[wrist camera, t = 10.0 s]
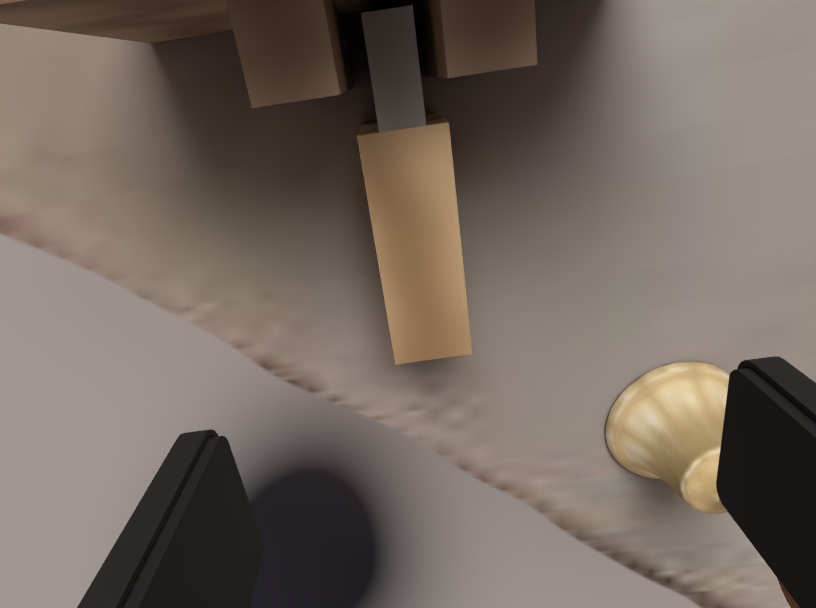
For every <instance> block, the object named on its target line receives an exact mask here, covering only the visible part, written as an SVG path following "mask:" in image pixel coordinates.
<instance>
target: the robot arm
mask: <svg viewBox="0 0 816 608" xmlns="http://www.w3.org/2000/svg"><path fill="white" fill-rule="evenodd" d="M716 488H717V493H718V496H719V499H720V501H721V503H722V504H723V506H724V507H725V508H726V510H727V511H728V512H729V514H730V515H731V516H732V518H733V519H734V520H735V522H736V523H737V524H738V526H739V527H740V528H741V530H742V531H743V532H744V534H745V535H746V536H747V538H748V539H749V540H750V542H751V543H752V544H753V546H754V547H755V548H756V550H757V551H758V552H759V554H760V555H761V556H762V558H763V559H764V560H765V562H766V563H767V564H768V566H769V567H770V568H771V570H772V571H773V572H774V574H775V575H776V576H777V578H778V579H779V580H780V582H781V583H782V584H783V586H784V587H785V588H786V590H787V591H788V592H789V594H790V595H791V597H792V598H793V599H794V601H795V602H796V603H797V605H798V606H799V607H800V608H816V383H815V382H813V381H812V380H811V379H809V378H808V377H807V376H805V375H804V374H803V373H801V372H800V371H799V370H797V369H796V368H795V367H793V366H792V365H791V364H789V363H788V362H787V361H785V360H784V359H782V358H780V357H767V358H759V359H751V360H744V361H742V362H741V363H740V364H739V366H738V369H737V370H733V371H732V372H731V373H730V376H729V383H728V391H727V399H726V407H725V415H724V423H723V431H722V440H721V448H720V456H719V464H718V472H717V480H716ZM262 556H263V544H262V538H261V535H260V532H259V529H258V526H257V524H256V521H255V518H254V515H253V512H252V509H251V506H250V504H249V500H248V498H247V495H246V492H245V489H244V486H243V483H242V480H241V477H240V474H239V472H238V469H237V466H236V463H235V460H234V457H233V454H232V452H231V448H230V445H229V442H228V440H227V438H226V437H225V436H218V434H217V433H216V432H215V431H214V430H204V431H196V432H189V433H183V434H180V436H179V437H178V438H177V440H176V442H175V443H174V445H173V446H172V448H171V450H170V452H169V453H168V455H167V457H166V459H165V460H164V462H163V464H162V465H161V467H160V468H159V470H158V472H157V474H156V475H155V477H154V479H153V480H152V482H151V484H150V486H149V487H148V489H147V490H146V492H145V494H144V496H143V497H142V499H141V501H140V502H139V504H138V506H137V507H136V509H135V511H134V513H133V514H132V516H131V518H130V519H129V521H128V523H127V524H126V526H125V528H124V530H123V531H122V533H121V534H120V536H119V538H118V540H117V541H116V543H115V545H114V546H113V548H112V550H111V551H110V553H109V555H108V557H107V558H106V560H105V562H104V563H103V565H102V567H101V568H100V570H99V572H98V573H97V575H96V577H95V579H94V580H93V582H92V583H91V585H90V587H89V589H88V590H87V592H86V594H85V595H84V597H83V599H82V600H81V602H80V604H79V605H78V607H77V608H249V605H250V601H251V598H252V594H253V590H254V587H255V583H256V579H257V576H258V572H259V568H260V564H261V561H262Z"/></svg>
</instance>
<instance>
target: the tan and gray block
mask: <svg viewBox="0 0 816 608" xmlns="http://www.w3.org/2000/svg"><path fill="white" fill-rule="evenodd" d="M361 17H362V24H363V30H364V37H365V43H366V50H367V57H368V63H369V70H370V76H371V83H372V89H373V96H374V103H375V109H376V116H377V122H374V123H367V124H361V127H360V129H359V132H358V134H357V140H358V146H359V152H360V158H361V164H362V170H363V176H364V182H365V188H366V194H367V200H368V206H369V211H370V217H371V223H372V229H373V235H374V241H375V247H376V253H377V259H378V265H379V271H380V277H381V283H382V288H383V294H384V300H385V306H386V312H387V318H388V324H389V330H390V336H391V342H392V348H393V354H394V359H395V365H397V364H404V363H411V362H418V361H426V360H433V359H440V358H447V357H454V356H461V355H468V354H472V346H471V336H470V326H469V316H468V306H467V297H466V287H465V277H464V267H463V257H462V247H461V237H460V227H459V217H458V207H457V197H456V187H455V178H454V168H453V158H452V148H451V138H450V128H449V122H448V121H447V120H445V119H444V118H442V117H441V116H440V115H438V114H437V113H434V114H427V115H425V109H424V100H423V92H422V83H421V74H420V66H419V57H418V49H417V40H416V32H415V23H414V15H413V6H412V5H410V6H403V7H397V8H390V9H383V10H377V11H370V12H364V13H361Z"/></svg>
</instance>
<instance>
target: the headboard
mask: <svg viewBox="0 0 816 608" xmlns="http://www.w3.org/2000/svg"><path fill="white" fill-rule="evenodd" d="M418 1H419V2H420V11H421V20H422V28H423V37H424V46H425V54H426V63H427V72H428V77H436V78H453V77H460V76H466V75H473V74H479V73H486V72H492V71H499V70H505V69H512V68H518V67H525V66H532V65H537V43H536V17H535V0H0V23H1V24H9V25H16V26H24V27H32V28H39V29H47V30H54V31H62V32H69V33H77V34H85V35H92V36H100V37H107V38H115V39H122V40H130V41H138V42H145V43H155V42H161V41H168V40H174V39H180V38H187V37H193V36H200V35H206V34H213V33H219V32H225V31H232V30H233V33H234V37H235V41H236V45H237V49H238V53H239V57H240V61H241V65H242V70H243V74H244V78H245V82H246V86H247V90H248V94H249V98H250V102H251V107H252V108H257V107H264V106H271V105H277V104H284V103H290V102H297V101H303V100H310V99H316V98H323V97H329V96H336V95H341V94H343V93H345V92H347V91H349V90H351V89H353V83H352V77H351V71H350V65H349V59H348V54H347V48H346V42H345V36H344V30H343V24H342V18H341V13H347V12H354V11H360V10H367V9H373V8H379V7H386V6H392V5H399V4H405V3H411V2H418Z"/></svg>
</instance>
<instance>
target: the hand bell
mask: <svg viewBox="0 0 816 608" xmlns="http://www.w3.org/2000/svg"><path fill="white" fill-rule="evenodd" d="M729 376H730V375H729V374H728V373H726V372H725V371H724V370H722V369H720V368H718V367H716V366H713V365H711V364H708V363H703V362H677V363H672V364H667V365H665V366H661V367H658V368H656V369H653V370H651V371H650V372H648V373H646V374H644V375H642V376H641V377H640V378H639V379H637V380H636V381H635V382H633V383H632V384H631V385H629V386H628V387H627V388H626V389H625V390H624V391H623V392H622V394H621V395H620V396H619V398H618V399H617V400H616V402H615V403H614V405H613V406H612V408H611V411H610V413H609V416H608V420H607V425H606V441H607V445H608V448H609V450H610V452H611V454H612V455H613V457H614V458H615V459H616V461H617V462H618V463H619V464H620V465H621V466H623V467H624V468H626V469H627V470H629V471H631V472H633V473H636V474H638V475H641V476H644V477H648V478H653V479H662V480H663V481H665V482H666V483H667V484H668V485H670V486H671V487H672V488H673V489H674V490H675V491H676V492H677V493H678V494H679V495H680V496H681V497H682V498H683V500H684V501H685V502H686V503H687V504H688V505H689V506H691V507H692V508H694V509H696V510H698V511H701V512H705V513H714V514H718V513H725V512H728V511H727V510H726V508H725V507H724V506H723V504H722V503H721V501H720V499H719V496H718V493H717V488H716V480H717V472H718V464H719V456H720V448H721V440H722V431H723V423H724V415H725V407H726V399H727V391H728V383H729ZM733 520H734V519H733ZM734 521H735V520H734ZM777 579H778V578H777ZM778 581H779V584H780V587H781V589H782V591H783V593H784V596H785V598H786V600H787V602H788V603H789V605H790V607H791V608H800V607H799V606H798V605H797V603H796V602H795V601H794V599H793V598H792V597H791V595H790V594H789V592H788V591H787V590H786V588H785V587H784V586H783V584H782V583H781V582H780V580H779V579H778Z"/></svg>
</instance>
